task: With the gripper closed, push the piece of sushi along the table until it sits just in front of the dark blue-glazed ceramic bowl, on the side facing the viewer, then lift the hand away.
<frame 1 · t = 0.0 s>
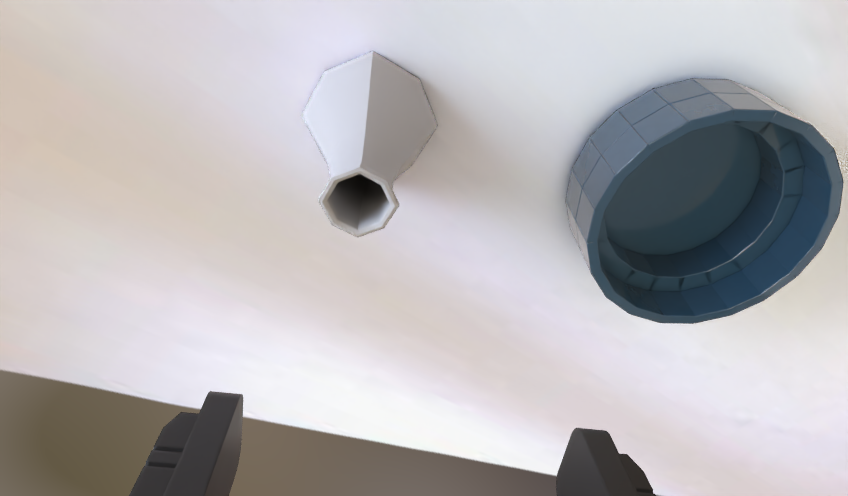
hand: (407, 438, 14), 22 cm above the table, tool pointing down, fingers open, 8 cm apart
bowl: (672, 182, 36), on the table
flask: (370, 117, 33), on the table
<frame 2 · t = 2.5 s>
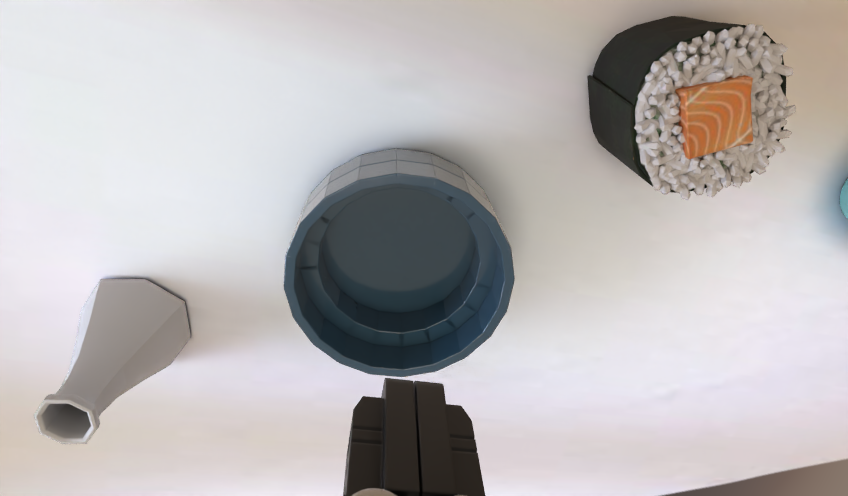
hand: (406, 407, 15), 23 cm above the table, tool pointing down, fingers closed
sushi: (652, 90, 35), on the table
bowl: (398, 243, 38), on the table
flask: (139, 319, 40), on the table
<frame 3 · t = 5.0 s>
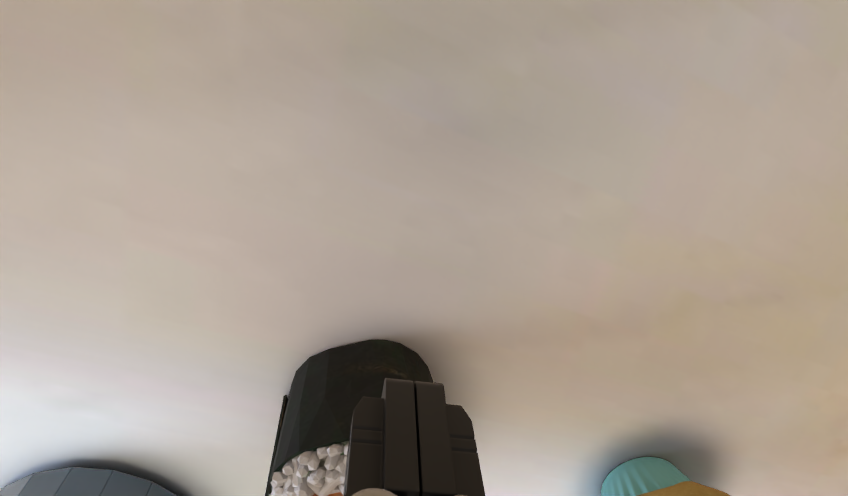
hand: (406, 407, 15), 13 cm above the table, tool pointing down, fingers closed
sushi: (367, 402, 31), on the table
cupcake: (639, 481, 35), on the table
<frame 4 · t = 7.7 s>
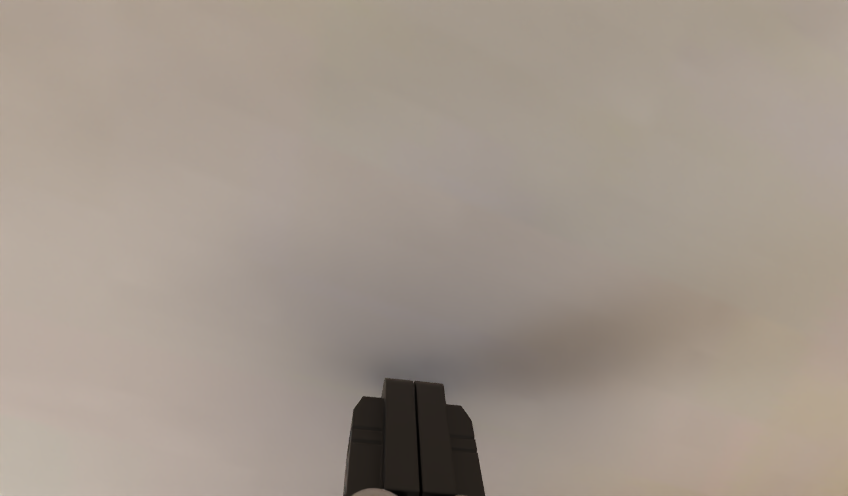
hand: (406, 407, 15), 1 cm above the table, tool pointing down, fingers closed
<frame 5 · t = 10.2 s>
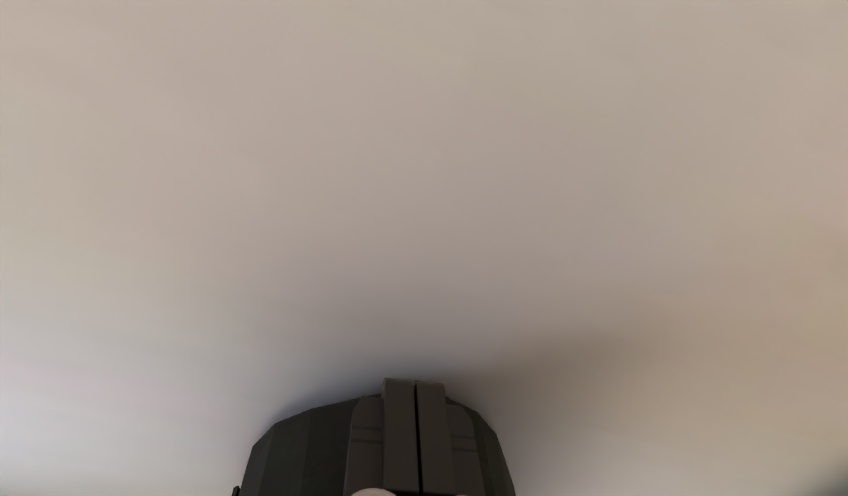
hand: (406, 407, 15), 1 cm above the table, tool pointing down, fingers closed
sushi: (385, 490, 18), on the table, touching gripper, hand
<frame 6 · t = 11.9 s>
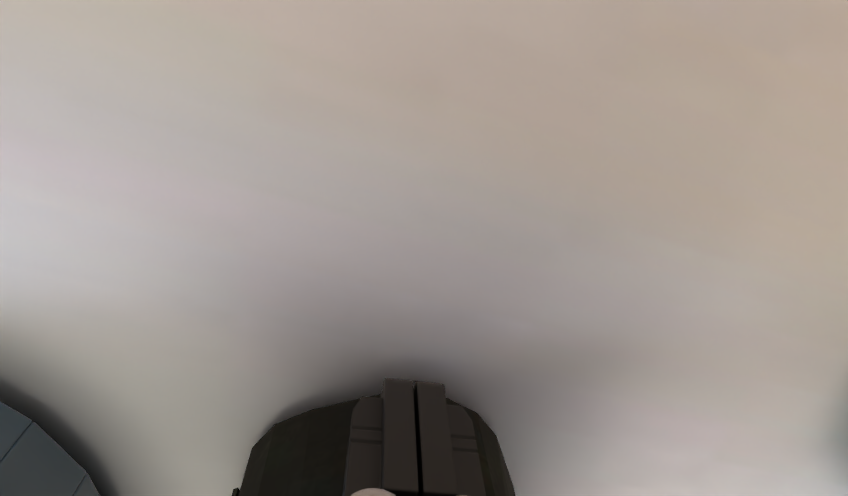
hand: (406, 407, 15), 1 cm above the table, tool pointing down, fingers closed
sushi: (385, 492, 18), on the table, touching gripper, hand
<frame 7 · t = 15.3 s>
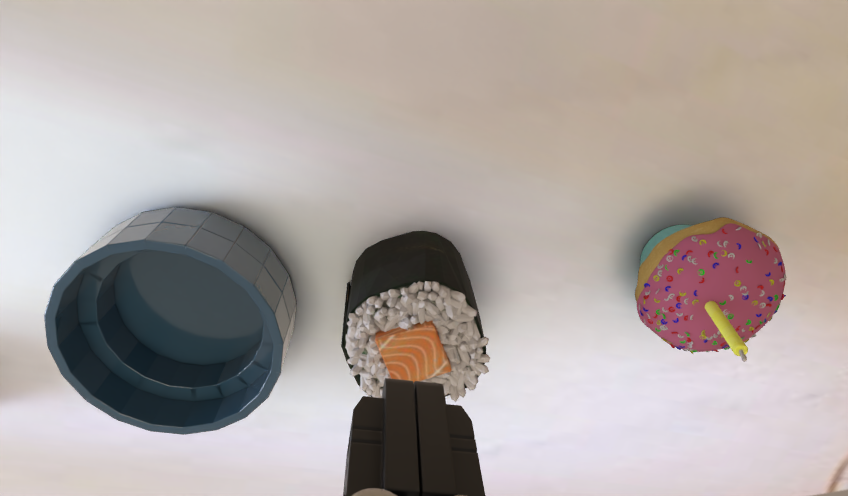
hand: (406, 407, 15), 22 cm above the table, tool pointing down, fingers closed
sushi: (412, 287, 39), on the table
bowl: (196, 297, 38), on the table
cupcake: (675, 253, 39), on the table
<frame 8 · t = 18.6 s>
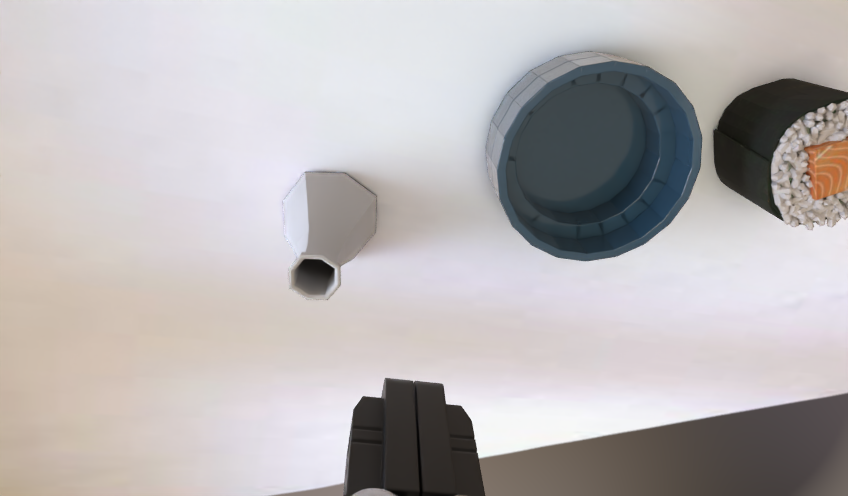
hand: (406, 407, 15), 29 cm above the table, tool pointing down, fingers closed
sushi: (766, 136, 43), on the table
bowl: (575, 146, 42), on the table
flask: (330, 214, 44), on the table
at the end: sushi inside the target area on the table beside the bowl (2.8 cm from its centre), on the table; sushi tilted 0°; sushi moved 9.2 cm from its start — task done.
